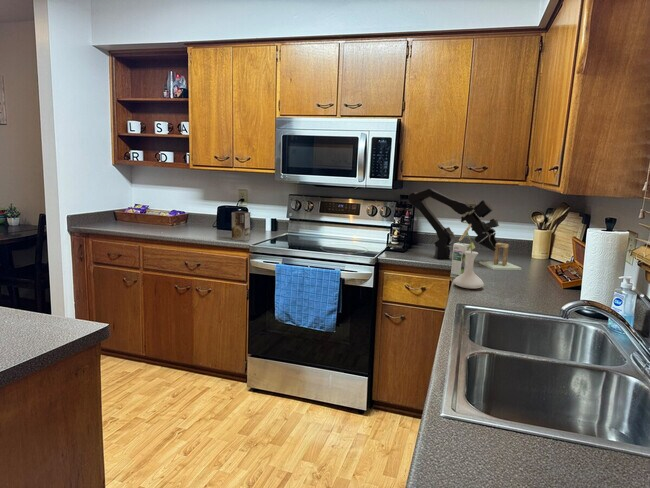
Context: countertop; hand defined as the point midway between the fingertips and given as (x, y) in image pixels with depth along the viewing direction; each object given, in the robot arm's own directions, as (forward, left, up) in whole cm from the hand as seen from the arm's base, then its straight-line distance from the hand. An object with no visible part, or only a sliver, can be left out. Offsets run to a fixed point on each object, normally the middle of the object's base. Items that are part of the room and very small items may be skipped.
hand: (496, 249), depth 220 cm
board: (+2, -1, -8) cm, 8 cm away
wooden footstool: (+2, -1, -7) cm, 8 cm away
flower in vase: (-32, -39, -8) cm, 52 cm away
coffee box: (-123, +64, -8) cm, 139 cm away
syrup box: (-28, -23, -8) cm, 38 cm away
